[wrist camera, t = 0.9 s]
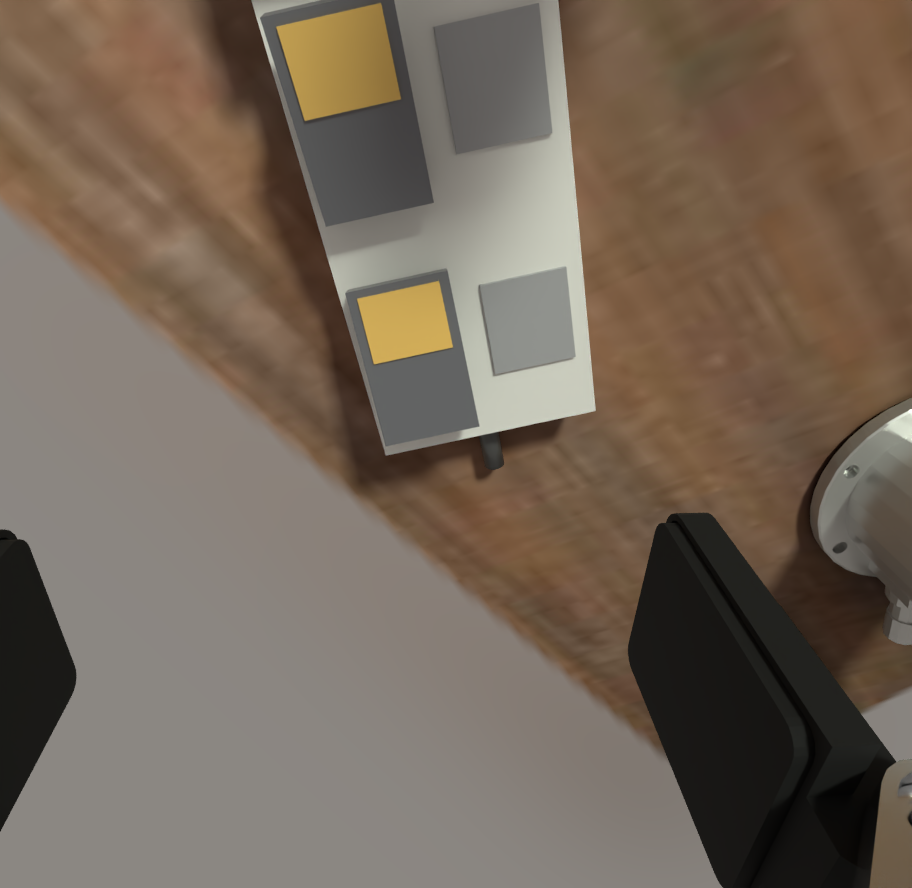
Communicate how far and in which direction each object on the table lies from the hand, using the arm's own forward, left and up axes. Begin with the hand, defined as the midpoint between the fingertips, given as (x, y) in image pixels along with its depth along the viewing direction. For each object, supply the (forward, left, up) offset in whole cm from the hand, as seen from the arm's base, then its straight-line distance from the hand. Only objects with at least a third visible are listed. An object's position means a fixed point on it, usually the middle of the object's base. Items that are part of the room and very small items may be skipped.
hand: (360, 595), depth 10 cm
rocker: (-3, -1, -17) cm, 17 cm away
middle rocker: (+6, -1, -17) cm, 18 cm away
